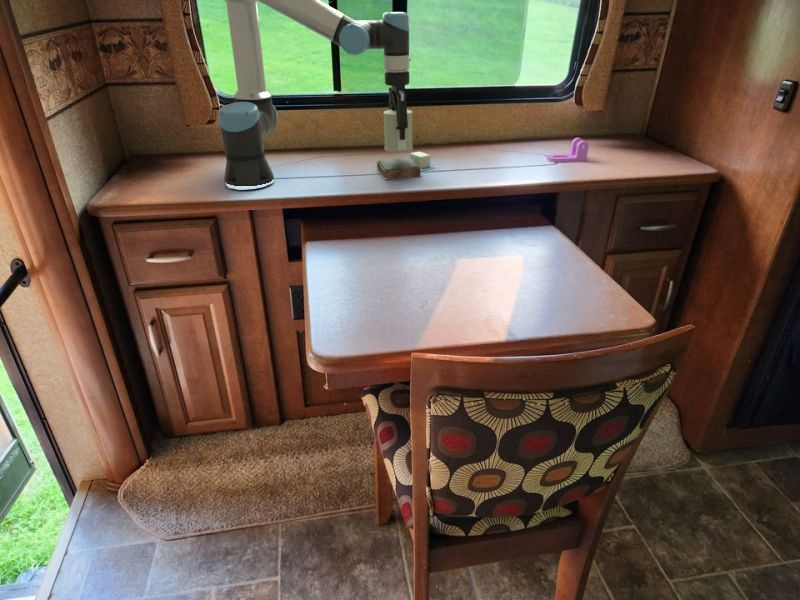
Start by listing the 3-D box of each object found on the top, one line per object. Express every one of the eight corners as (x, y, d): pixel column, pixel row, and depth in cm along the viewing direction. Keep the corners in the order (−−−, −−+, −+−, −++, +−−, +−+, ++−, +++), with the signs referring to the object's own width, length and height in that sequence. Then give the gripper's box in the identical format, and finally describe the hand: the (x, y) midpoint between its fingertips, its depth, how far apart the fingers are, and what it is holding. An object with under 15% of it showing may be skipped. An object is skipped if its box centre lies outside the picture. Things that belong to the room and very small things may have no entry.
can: (418, 147, 169) (418, 109, 163) (401, 154, 163) (400, 114, 157) (396, 143, 174) (395, 106, 168) (378, 149, 168) (377, 111, 162)
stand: (384, 179, 166) (384, 170, 165) (377, 168, 176) (376, 159, 175) (420, 176, 169) (420, 167, 167) (411, 165, 179) (411, 157, 177)
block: (419, 168, 176) (420, 157, 174) (410, 164, 181) (410, 153, 178) (429, 166, 178) (429, 155, 176) (419, 162, 182) (419, 151, 180)
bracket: (579, 157, 186) (582, 137, 183) (586, 161, 181) (589, 141, 178) (544, 158, 185) (547, 139, 181) (550, 163, 180) (553, 142, 177)
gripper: (418, 74, 148) (418, 153, 160) (400, 65, 166) (402, 137, 178) (392, 75, 147) (394, 155, 158) (377, 66, 165) (380, 139, 176)
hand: (398, 145), depth 168 cm, fingers closed on can, 9 cm apart
